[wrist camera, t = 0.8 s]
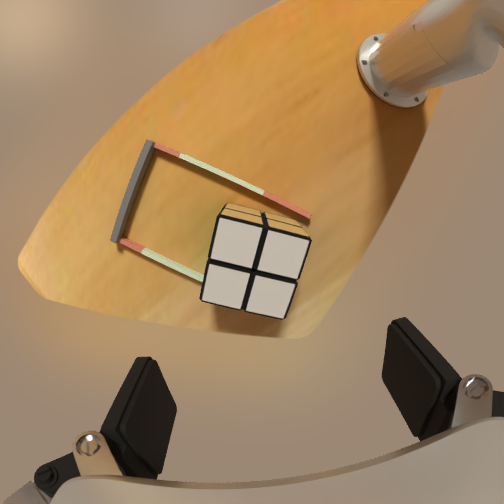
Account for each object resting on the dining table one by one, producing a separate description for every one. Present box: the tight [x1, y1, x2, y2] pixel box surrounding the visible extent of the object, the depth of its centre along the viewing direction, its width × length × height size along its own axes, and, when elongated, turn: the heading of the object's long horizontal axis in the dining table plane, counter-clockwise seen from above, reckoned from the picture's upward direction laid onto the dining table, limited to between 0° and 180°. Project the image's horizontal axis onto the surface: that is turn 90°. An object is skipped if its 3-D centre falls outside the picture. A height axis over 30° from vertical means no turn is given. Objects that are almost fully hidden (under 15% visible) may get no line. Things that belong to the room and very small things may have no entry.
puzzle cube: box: [200, 203, 312, 320], centre depth 34 cm, size 10×10×10 cm
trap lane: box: [110, 140, 312, 282], centre depth 37 cm, size 15×24×2 cm, turn 64°
